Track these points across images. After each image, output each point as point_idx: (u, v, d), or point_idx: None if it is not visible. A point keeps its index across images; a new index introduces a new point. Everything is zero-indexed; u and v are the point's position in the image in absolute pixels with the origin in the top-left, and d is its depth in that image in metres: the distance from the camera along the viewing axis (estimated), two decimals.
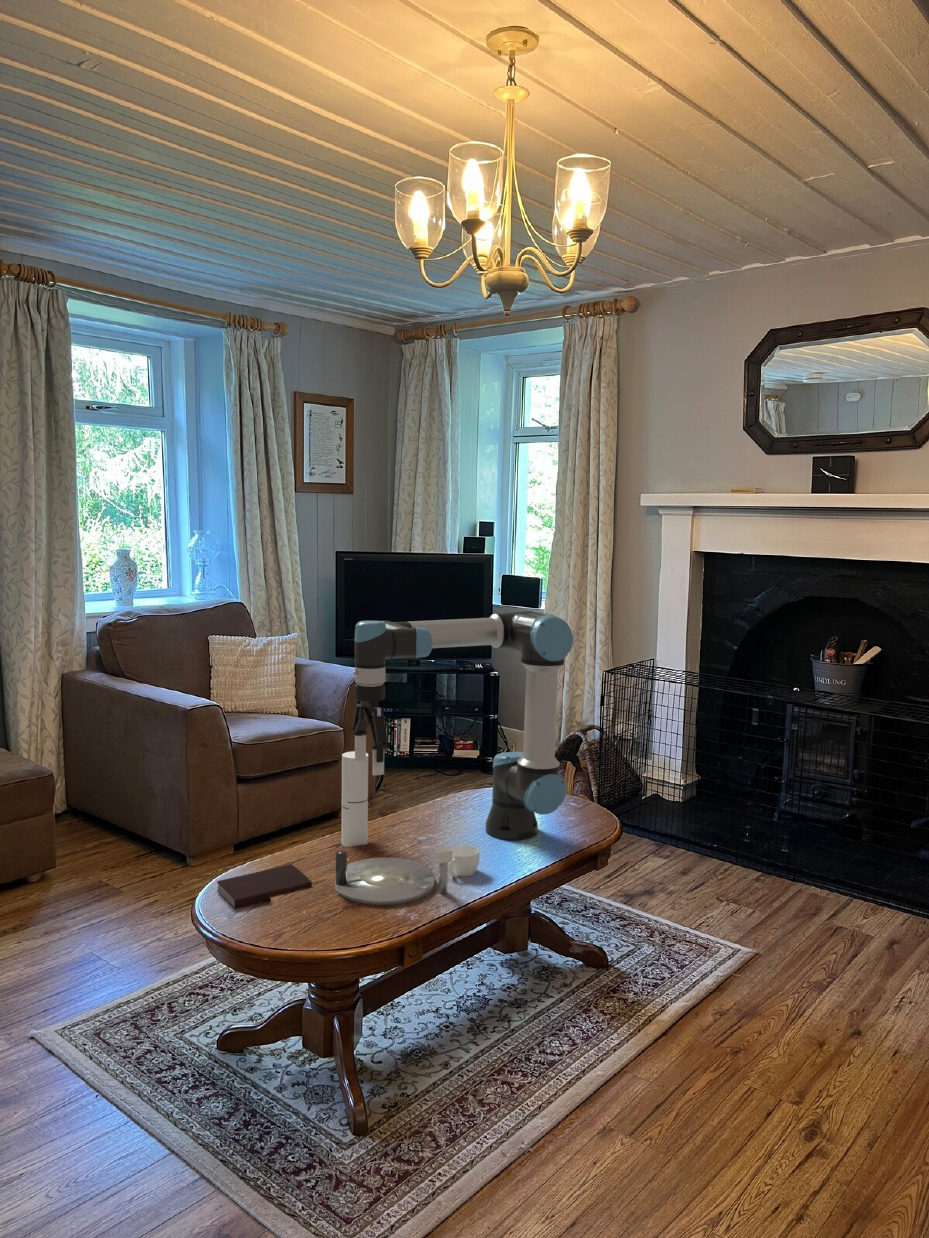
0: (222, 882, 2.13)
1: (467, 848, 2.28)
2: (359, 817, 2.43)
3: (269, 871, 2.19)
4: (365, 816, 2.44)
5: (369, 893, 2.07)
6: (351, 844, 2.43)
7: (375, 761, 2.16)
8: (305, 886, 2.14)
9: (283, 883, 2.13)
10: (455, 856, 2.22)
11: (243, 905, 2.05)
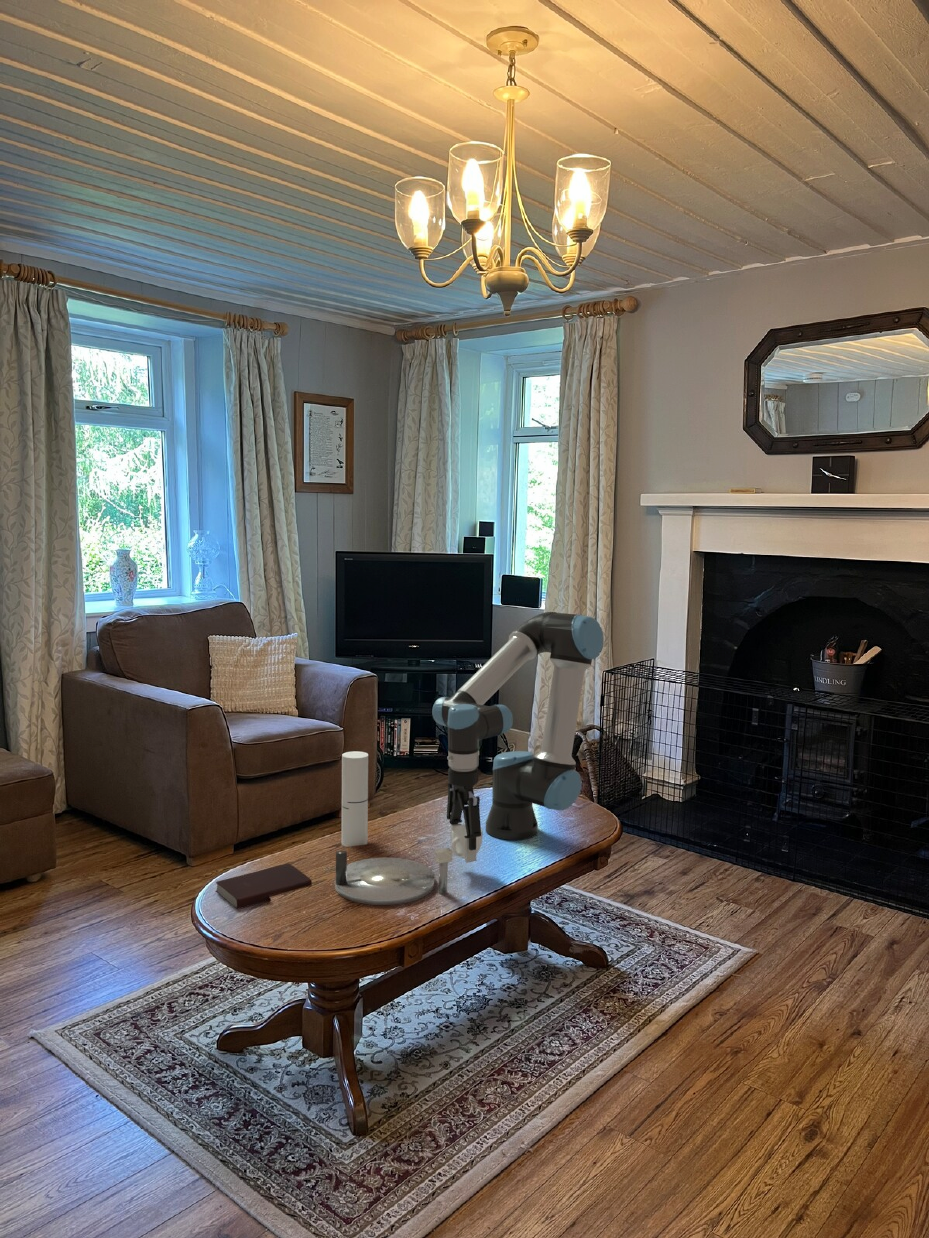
0: (221, 882, 2.13)
1: None
2: (359, 817, 2.43)
3: (267, 870, 2.20)
4: (365, 816, 2.44)
5: (369, 893, 2.07)
6: (351, 844, 2.43)
7: (468, 848, 2.20)
8: (305, 884, 2.15)
9: (283, 882, 2.13)
10: (458, 835, 2.21)
11: (245, 905, 2.05)
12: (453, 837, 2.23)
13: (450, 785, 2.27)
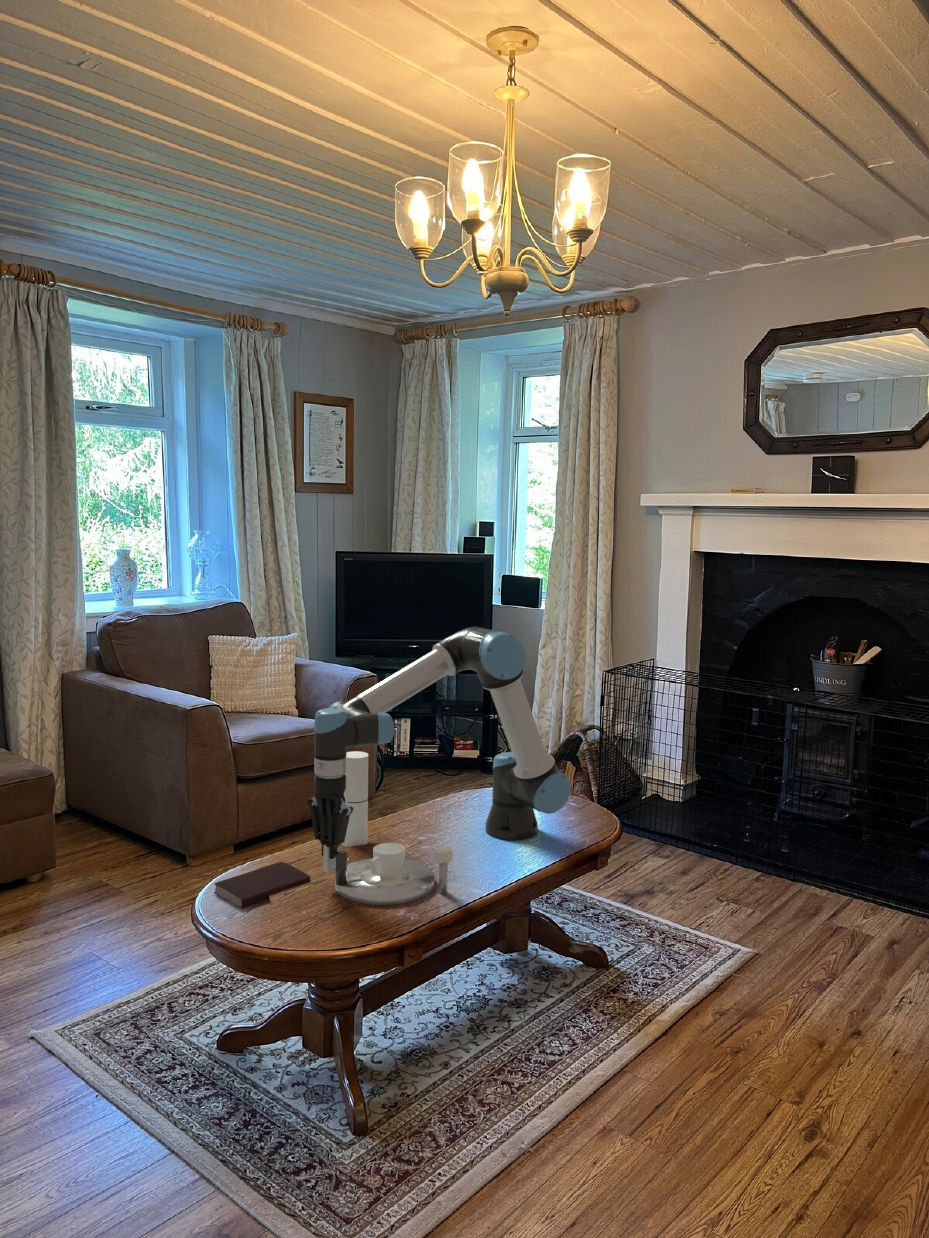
0: (220, 883, 2.12)
1: (394, 846, 2.20)
2: (359, 817, 2.43)
3: (263, 869, 2.20)
4: (365, 816, 2.44)
5: (369, 893, 2.07)
6: (351, 844, 2.43)
7: (329, 858, 2.12)
8: (304, 881, 2.17)
9: (283, 880, 2.15)
10: (379, 854, 2.13)
11: (249, 904, 2.06)
12: (374, 856, 2.15)
13: (311, 800, 2.14)
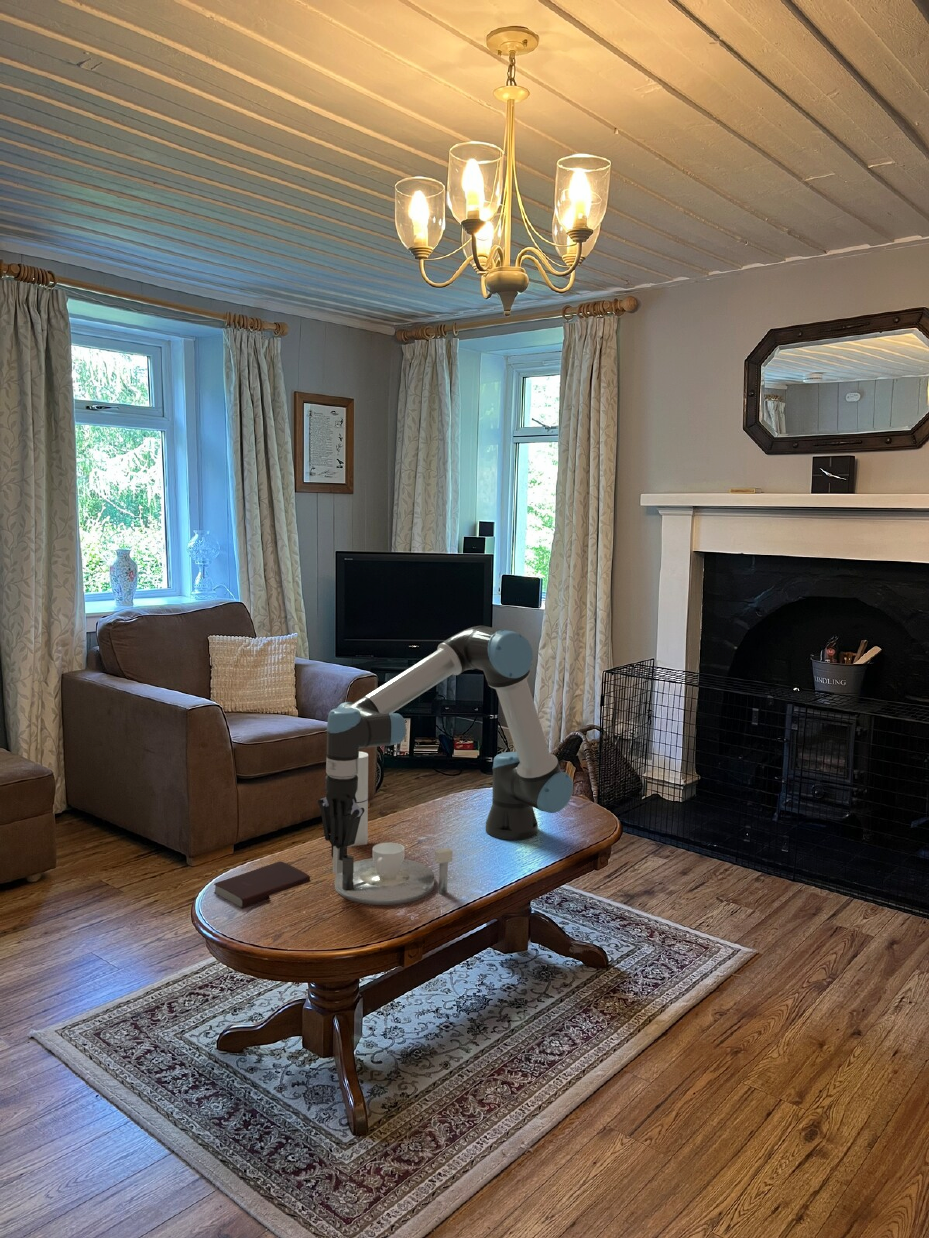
0: (220, 884, 2.12)
1: (388, 845, 2.20)
2: None
3: (262, 869, 2.20)
4: (365, 816, 2.44)
5: (383, 893, 2.06)
6: None
7: (338, 859, 2.10)
8: (304, 880, 2.17)
9: (282, 879, 2.15)
10: (382, 854, 2.13)
11: (250, 904, 2.06)
12: (376, 857, 2.14)
13: (321, 800, 2.12)
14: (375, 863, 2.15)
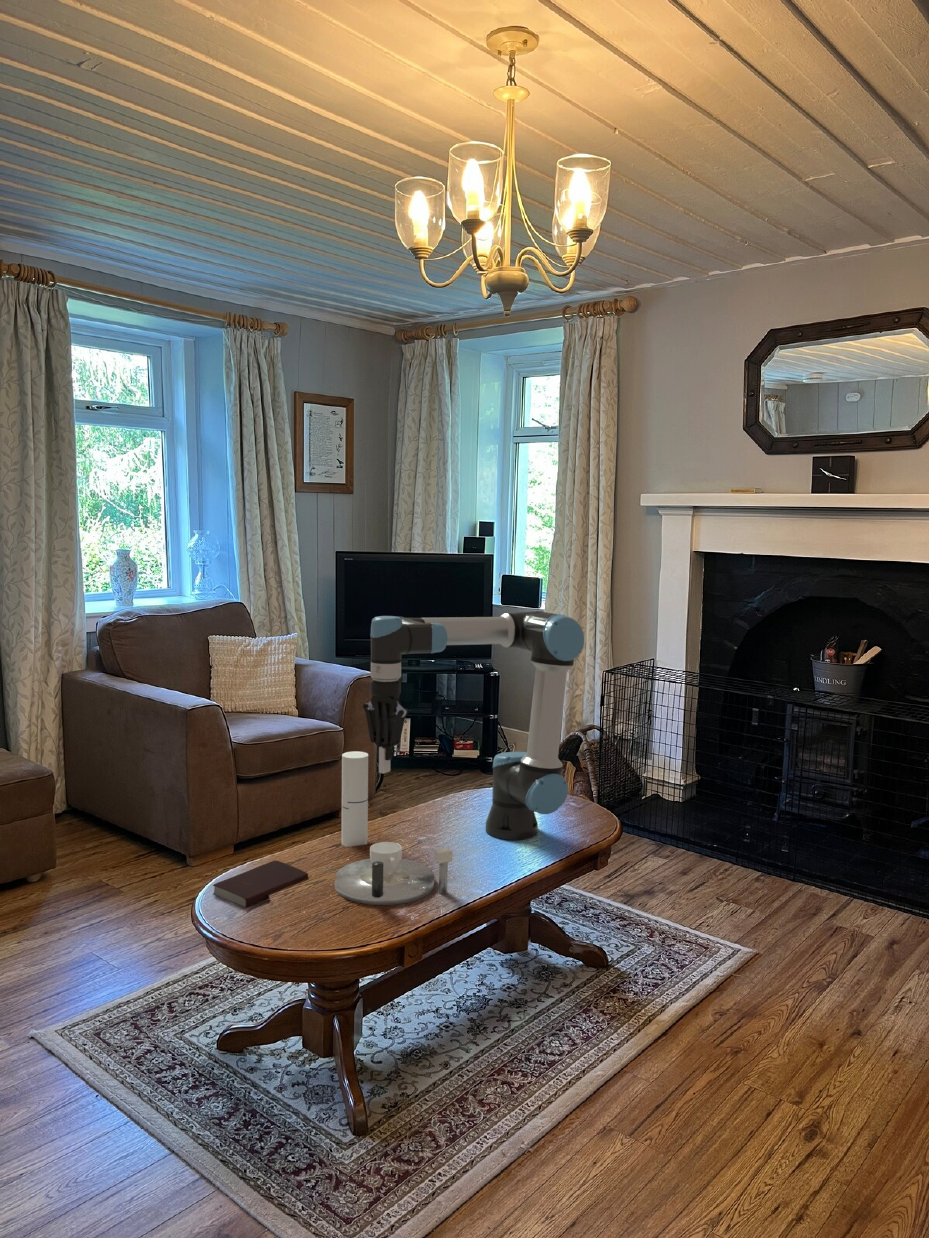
0: (219, 884, 2.11)
1: (376, 846, 2.19)
2: (359, 817, 2.43)
3: (259, 869, 2.21)
4: (365, 816, 2.44)
5: (413, 889, 2.09)
6: (351, 844, 2.43)
7: (384, 759, 2.22)
8: (303, 878, 2.18)
9: (282, 878, 2.16)
10: (391, 854, 2.13)
11: (253, 903, 2.06)
12: (383, 858, 2.13)
13: (366, 705, 2.24)
14: None
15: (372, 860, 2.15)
